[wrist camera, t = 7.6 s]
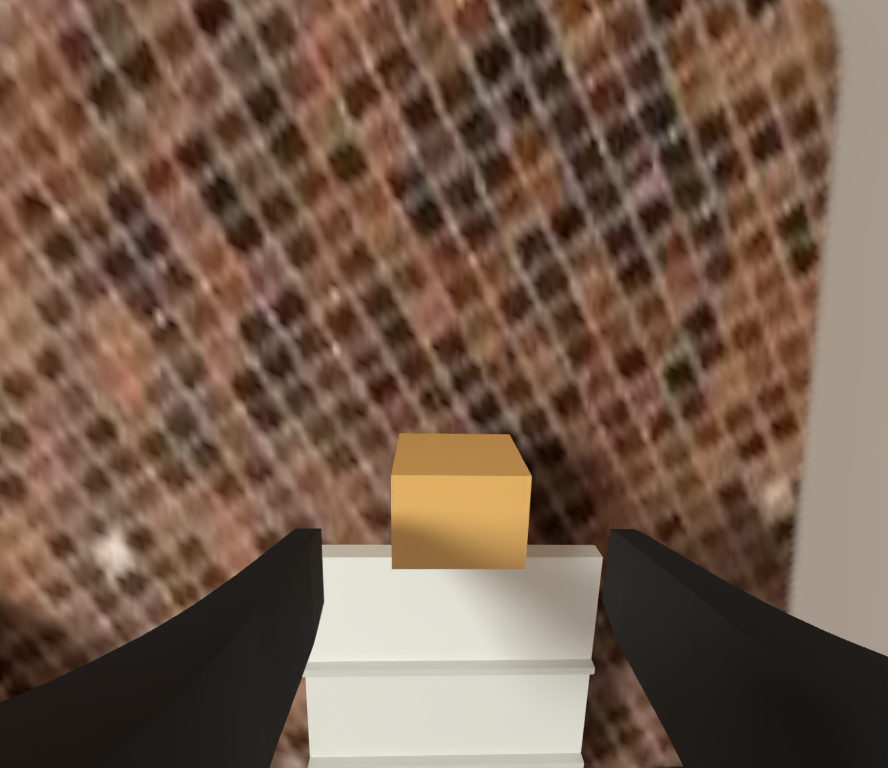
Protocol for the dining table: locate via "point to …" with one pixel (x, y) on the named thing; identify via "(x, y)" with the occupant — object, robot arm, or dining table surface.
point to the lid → (454, 624)
